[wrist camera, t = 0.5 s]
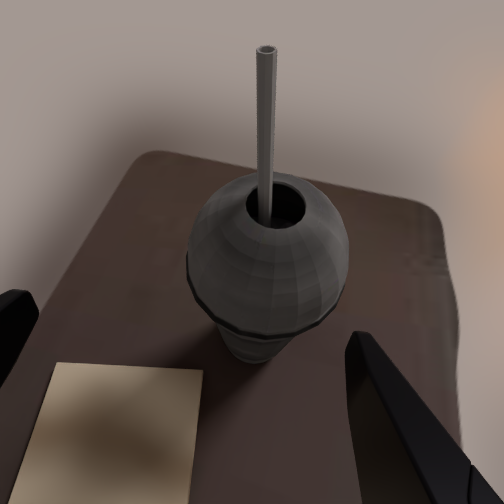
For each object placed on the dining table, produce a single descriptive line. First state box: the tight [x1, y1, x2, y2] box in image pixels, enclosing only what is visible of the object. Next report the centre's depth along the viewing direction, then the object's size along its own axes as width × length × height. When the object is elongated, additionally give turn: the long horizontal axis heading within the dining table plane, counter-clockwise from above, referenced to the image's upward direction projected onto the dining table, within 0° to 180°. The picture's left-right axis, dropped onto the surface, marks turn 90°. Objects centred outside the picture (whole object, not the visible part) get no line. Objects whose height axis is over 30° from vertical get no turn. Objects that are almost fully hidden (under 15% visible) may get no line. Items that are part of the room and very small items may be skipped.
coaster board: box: [8, 362, 203, 504], centre depth 20 cm, size 10×10×1 cm
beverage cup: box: [186, 45, 349, 364], centre depth 16 cm, size 7×7×20 cm
